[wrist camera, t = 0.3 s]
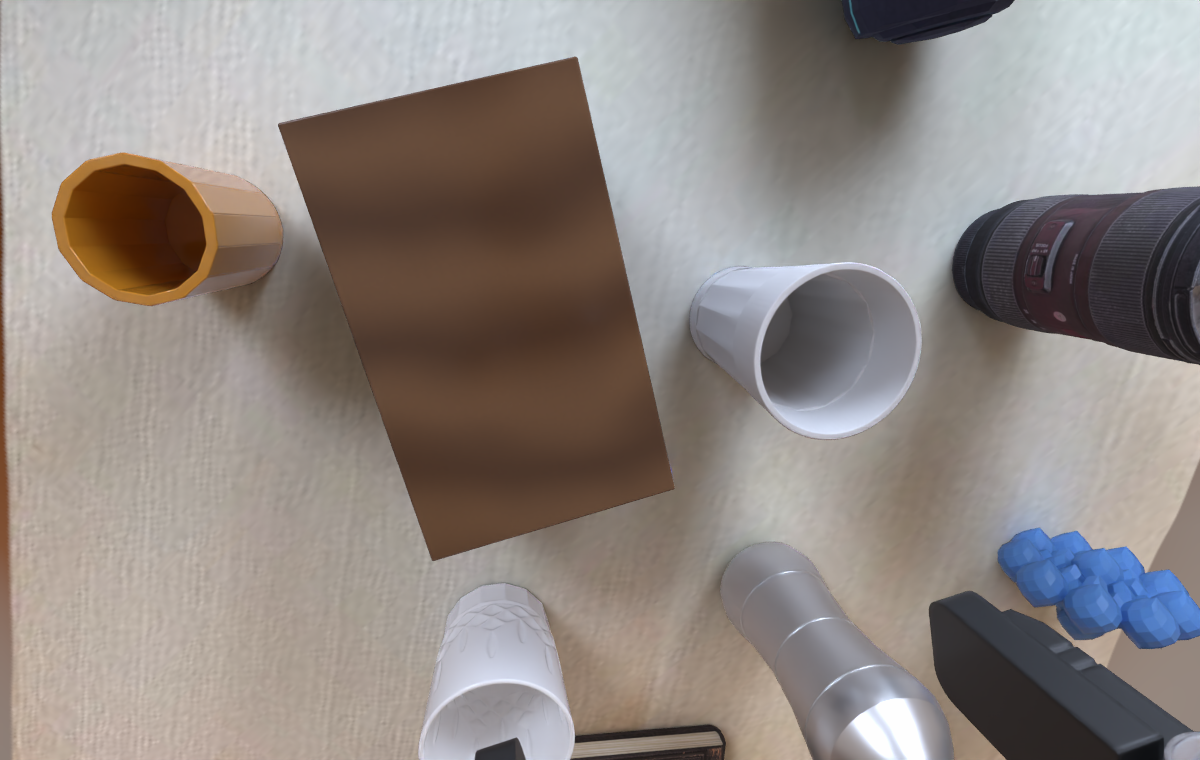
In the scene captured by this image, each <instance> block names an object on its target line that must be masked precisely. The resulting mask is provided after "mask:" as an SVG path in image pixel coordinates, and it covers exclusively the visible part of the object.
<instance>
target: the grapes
mask: <svg viewBox="0 0 1200 760" xmlns="http://www.w3.org/2000/svg"><path fill="white" fill-rule="evenodd" d="M998 563H999V564H1000V566H1001V568H1002V570H1003V571H1004V572H1005V573H1006V574H1007V575H1008V577H1009V578H1010V579H1011V580H1012V581H1013V582H1014V583H1015V582H1016V584H1017V586H1018V588H1019V590H1020V591H1021V593H1022V595H1023V596H1024V597H1025V598H1026V599H1027V600H1028V601H1029V602H1030V603H1031V604H1032V605H1033V606H1034V607H1045V606H1052V605H1055V606H1056V607H1057V608H1056V612H1057V618H1058V620H1059V622H1060V623H1061V625H1062V627H1063V628H1064V629H1065V630H1066V631H1067V632H1068V634H1069V635H1070V636H1071V637H1072V638H1073V639H1074V640H1090V639H1095V638H1097V637H1100V636H1102V635H1104V633H1107V632H1110V631H1112V630H1115V629H1122V630H1123V631H1124V633H1125V634H1126V635H1127V636H1128V638H1129V639H1130V640H1131V641H1132V642H1133V643H1134V644H1135V645H1136V646H1137V647H1138V648H1139V649H1155V648H1163V647H1166V646H1168V645H1171V644H1174V643H1175V642H1176V641H1177V640H1189V639H1192V638H1195V637H1198V636H1200V608H1199V607H1198V606H1197V604H1196V603H1195V602H1194V601H1193V599H1192V598H1191V597H1189V593H1188V591H1187V590H1186V589H1185V588H1184V586H1183V585H1182V584H1181V582H1180V581H1179V580H1178V578H1177V577H1176V576H1175V575H1174V574H1173V573H1172V572H1171V571H1170V570H1161V571H1153V572H1148V573H1145V571H1144V567H1143V566H1142V564H1141V563H1140V562H1139V560H1138V559H1137V558H1136V556H1135V555H1134V554H1133V553H1132V552H1131V551H1130V550H1129V549H1128V548H1127V547H1120V548H1114V549H1108V550H1105V549H1104V548H1101V549H1095V550H1093V549H1092V548H1091V547H1090V545H1089V544H1088V542H1087V541H1086V540H1085V539H1084V538H1083V537H1082V536H1081V535H1080V534H1079V533H1078V531H1074V532H1069V533H1064V534H1060V535H1058V536H1055V537H1053V538H1052V539H1050V538H1049V537H1048V536H1047V535H1046V534H1045V533H1044V532H1043V531H1042V530H1041V529H1040V528H1035V529H1030V530H1026V531H1023V532H1021V533H1018V534H1016V535H1015V536H1014V538H1013V539H1012V540H1011V542H1008V543H1006V544H1004V545H1002V547H1001V548H1000V549H999V550H998Z"/></svg>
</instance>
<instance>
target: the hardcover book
mask: <svg viewBox="0 0 1200 760" xmlns="http://www.w3.org/2000/svg"><path fill="white" fill-rule="evenodd" d="M725 746H726V742H725V739H724V736H723V734H722V733H721V731H720V730H719V729H718V728H717V727H715V726H712V725H703V726H691V727H679V728H667V729H655V730H643V731H631V732H619V733H607V734H595V735H583V736H575V743H574V749H573V753H572V756H571V759H570V760H724V754H725Z"/></svg>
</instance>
